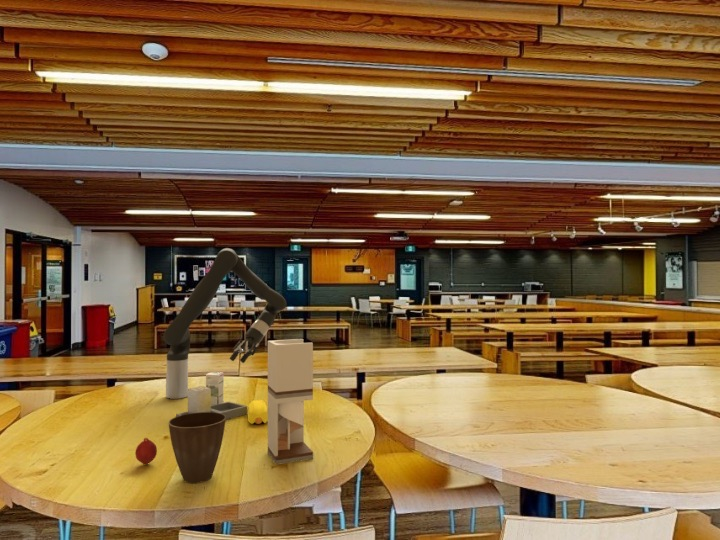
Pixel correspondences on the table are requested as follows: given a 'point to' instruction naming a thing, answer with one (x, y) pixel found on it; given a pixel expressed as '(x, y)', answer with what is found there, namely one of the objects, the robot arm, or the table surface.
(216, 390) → the syrup box
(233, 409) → the grey rectangular tray
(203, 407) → the block
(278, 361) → the white brown-banded tower
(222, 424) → the plant pot
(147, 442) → the onion
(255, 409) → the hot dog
